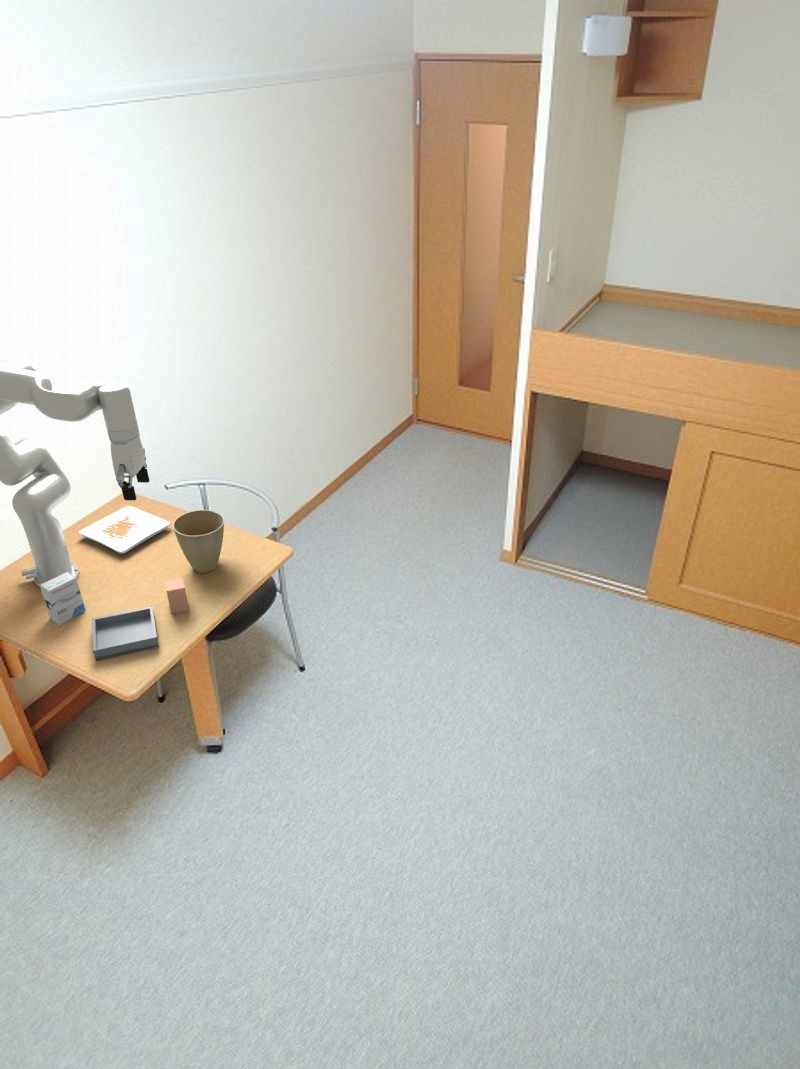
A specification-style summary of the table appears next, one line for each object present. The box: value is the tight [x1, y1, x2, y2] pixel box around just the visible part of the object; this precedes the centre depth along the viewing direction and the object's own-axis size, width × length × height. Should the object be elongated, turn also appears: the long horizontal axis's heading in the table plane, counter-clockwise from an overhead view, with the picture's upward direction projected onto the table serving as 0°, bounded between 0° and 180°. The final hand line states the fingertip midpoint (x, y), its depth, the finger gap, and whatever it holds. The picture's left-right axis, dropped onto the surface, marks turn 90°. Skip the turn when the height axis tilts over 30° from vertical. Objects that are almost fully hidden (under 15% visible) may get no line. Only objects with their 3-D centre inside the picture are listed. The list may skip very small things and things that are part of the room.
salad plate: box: [78, 505, 171, 554], centre depth 247 cm, size 21×21×3 cm
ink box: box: [39, 572, 86, 625], centre depth 209 cm, size 8×5×12 cm, turn 141°
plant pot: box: [172, 509, 225, 573], centre depth 228 cm, size 15×15×16 cm
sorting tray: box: [91, 605, 160, 661], centre depth 203 cm, size 16×14×4 cm
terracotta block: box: [164, 577, 190, 614], centre depth 213 cm, size 5×5×8 cm
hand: (137, 490), depth 201 cm, fingers open, 9 cm apart
